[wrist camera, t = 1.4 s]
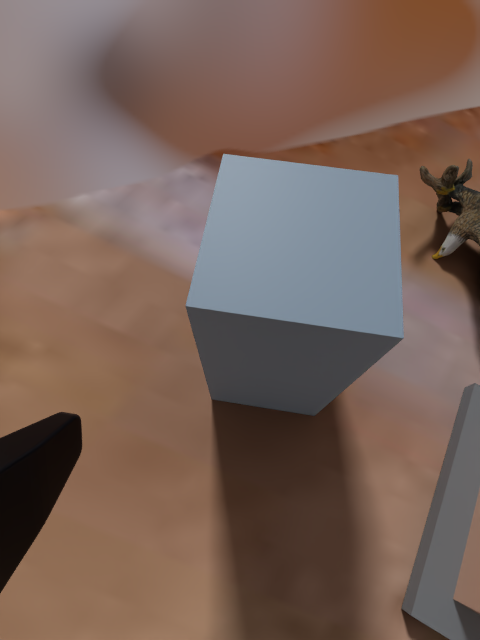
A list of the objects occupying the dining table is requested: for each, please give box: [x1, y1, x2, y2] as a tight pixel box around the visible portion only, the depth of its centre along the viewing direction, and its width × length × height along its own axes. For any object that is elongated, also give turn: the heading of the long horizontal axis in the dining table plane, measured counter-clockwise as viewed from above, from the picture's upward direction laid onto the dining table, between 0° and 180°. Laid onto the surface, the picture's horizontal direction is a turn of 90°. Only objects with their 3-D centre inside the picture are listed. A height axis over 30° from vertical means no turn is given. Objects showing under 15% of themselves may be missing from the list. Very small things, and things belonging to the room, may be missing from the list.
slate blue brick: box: [186, 154, 404, 416], centre depth 17 cm, size 6×6×12 cm
